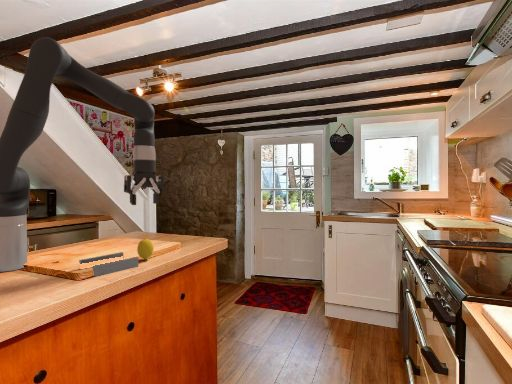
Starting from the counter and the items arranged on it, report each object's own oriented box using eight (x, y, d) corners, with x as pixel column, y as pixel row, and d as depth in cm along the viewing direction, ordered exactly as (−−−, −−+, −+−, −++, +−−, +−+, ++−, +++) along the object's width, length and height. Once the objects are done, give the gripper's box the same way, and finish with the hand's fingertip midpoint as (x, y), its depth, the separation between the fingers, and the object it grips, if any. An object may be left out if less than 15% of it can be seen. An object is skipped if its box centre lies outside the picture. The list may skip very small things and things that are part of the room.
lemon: (143, 257, 110) (143, 236, 109) (156, 258, 109) (156, 237, 108) (134, 261, 104) (134, 239, 104) (148, 262, 103) (148, 239, 103)
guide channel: (79, 269, 94) (79, 260, 94) (121, 260, 105) (121, 252, 105) (94, 276, 87) (94, 266, 87) (138, 266, 98) (138, 257, 98)
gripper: (156, 160, 112) (156, 202, 113) (119, 158, 101) (120, 204, 102) (167, 160, 108) (168, 203, 108) (130, 157, 97) (131, 206, 97)
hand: (145, 204), depth 105 cm, fingers open, 8 cm apart
